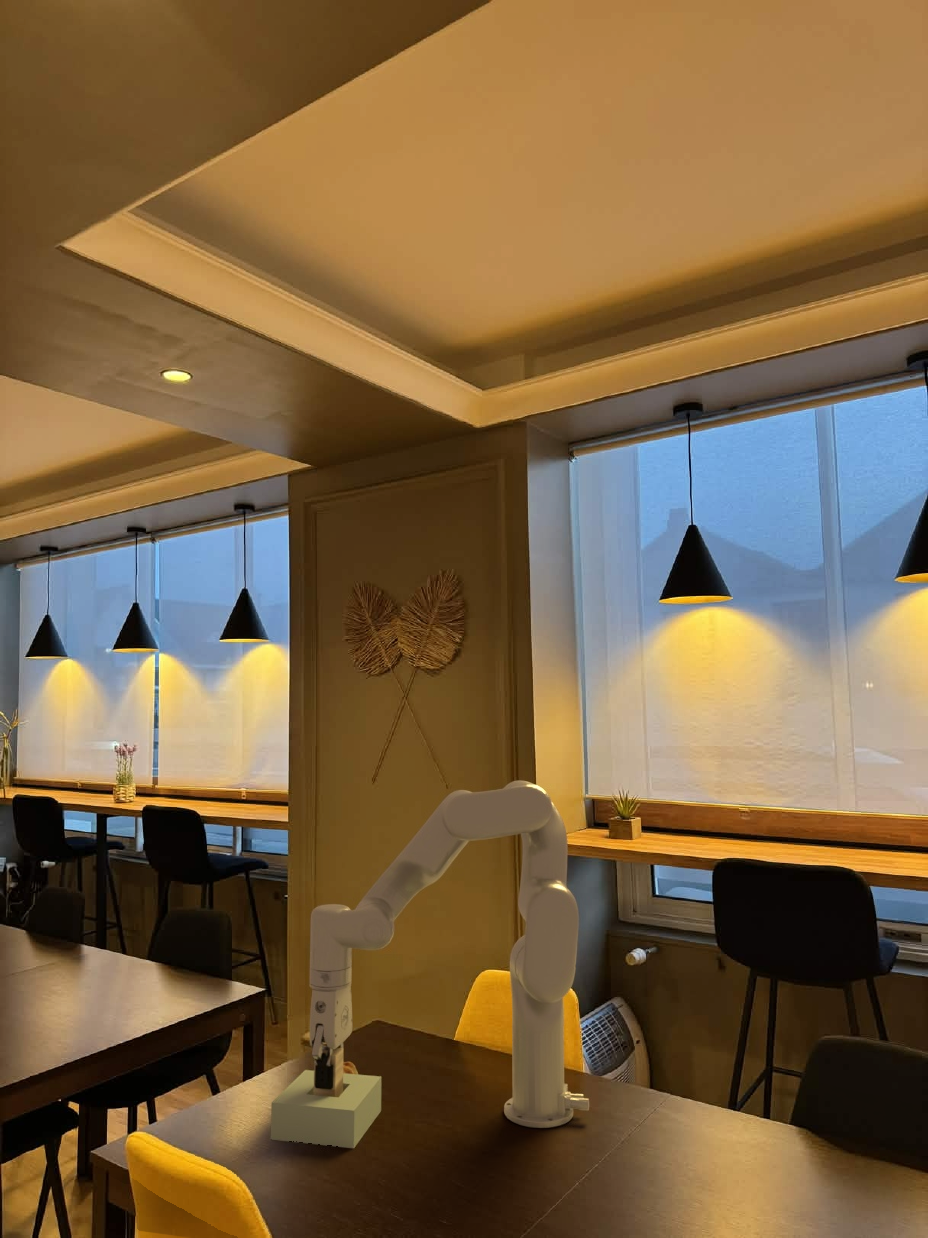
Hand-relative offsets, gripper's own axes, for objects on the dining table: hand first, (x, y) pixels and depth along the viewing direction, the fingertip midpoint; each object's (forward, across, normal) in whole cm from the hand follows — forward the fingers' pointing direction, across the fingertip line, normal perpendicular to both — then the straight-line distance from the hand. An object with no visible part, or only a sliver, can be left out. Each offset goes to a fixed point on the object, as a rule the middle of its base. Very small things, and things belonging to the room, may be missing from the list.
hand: (329, 1082), depth 160 cm
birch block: (+5, 0, 0) cm, 5 cm away
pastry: (+8, +17, +5) cm, 19 cm away
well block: (+7, 0, 0) cm, 7 cm away
